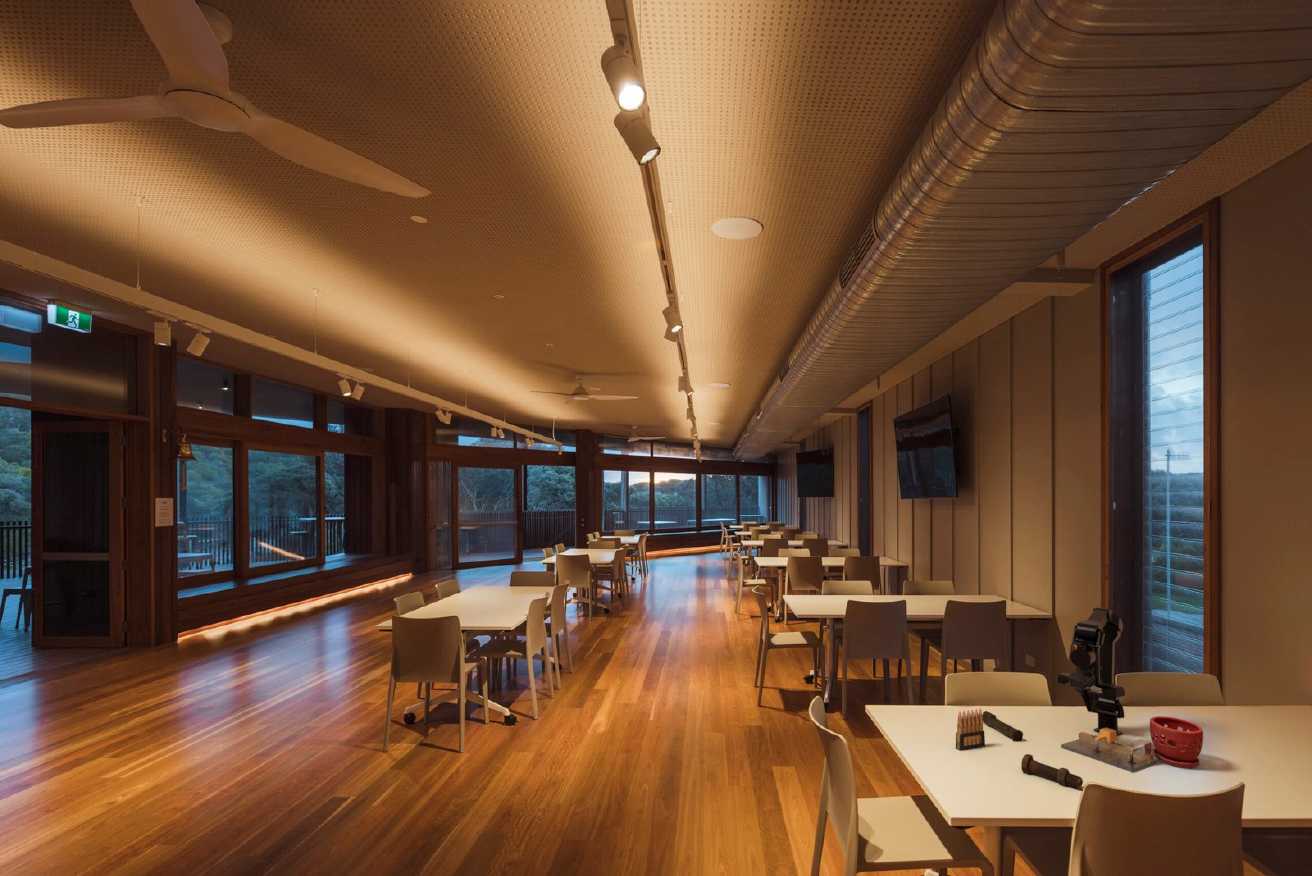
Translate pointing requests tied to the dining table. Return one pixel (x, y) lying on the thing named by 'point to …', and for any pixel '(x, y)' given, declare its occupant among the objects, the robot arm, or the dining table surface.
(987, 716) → the hand tool
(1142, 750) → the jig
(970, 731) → the ammunition clip
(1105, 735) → the orange block with bar
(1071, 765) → the dining table surface
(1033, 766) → the bolt
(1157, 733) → the plant pot
